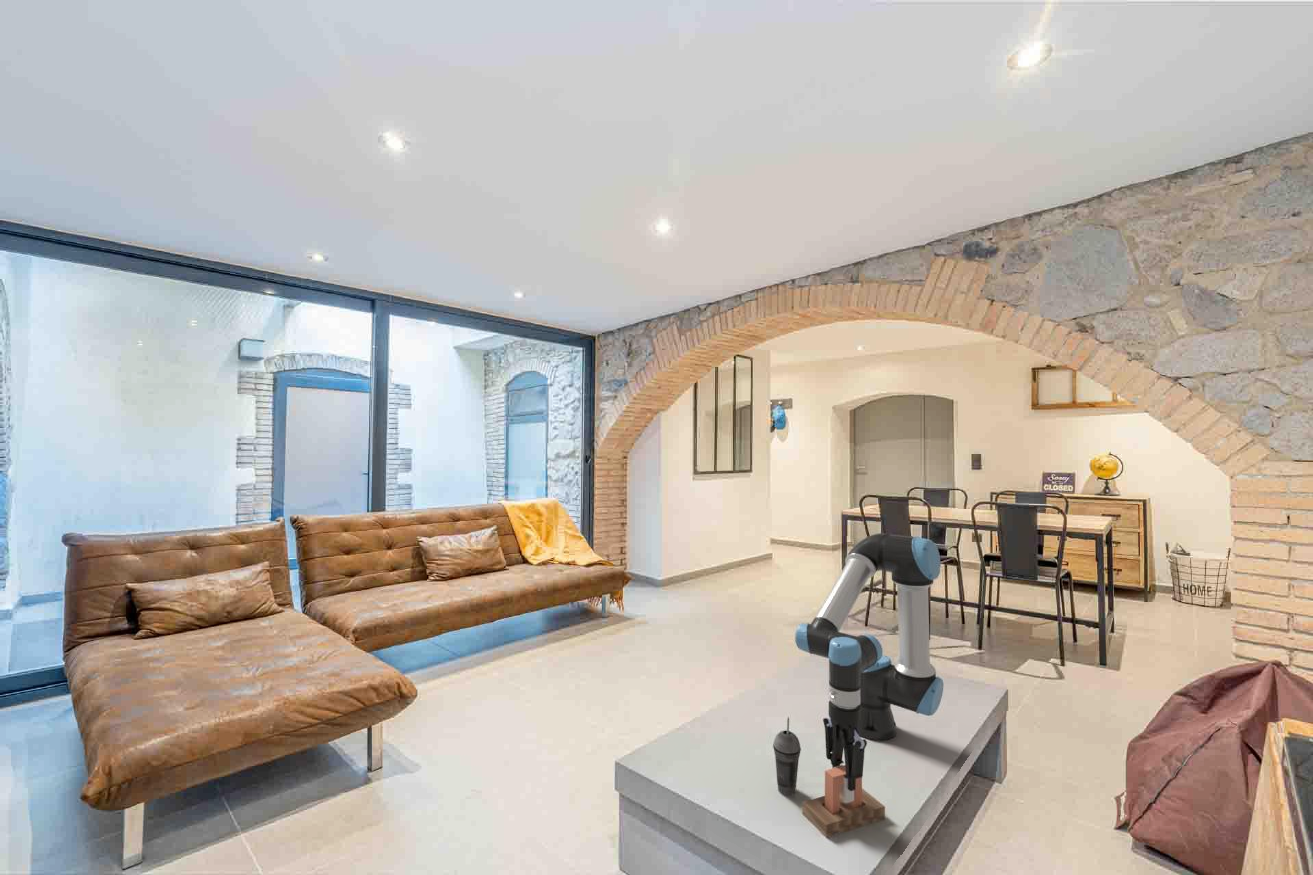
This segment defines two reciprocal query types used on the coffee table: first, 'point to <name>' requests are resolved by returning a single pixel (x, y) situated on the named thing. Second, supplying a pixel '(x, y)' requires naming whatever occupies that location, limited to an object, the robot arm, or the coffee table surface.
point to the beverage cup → (786, 760)
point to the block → (833, 789)
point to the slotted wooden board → (843, 814)
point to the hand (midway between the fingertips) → (843, 796)
